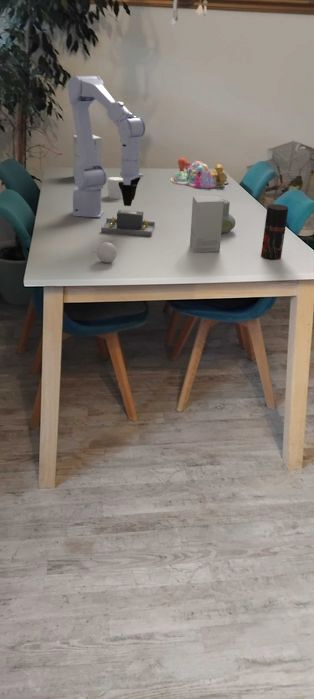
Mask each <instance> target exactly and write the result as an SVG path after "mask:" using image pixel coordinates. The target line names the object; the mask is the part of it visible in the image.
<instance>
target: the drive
mask: <svg viewBox="0 0 314 699" xmlns="http://www.w3.org/2000/svg"><path fill="white" fill-rule="evenodd" d="M116 219H117V228H119V229H132V230H142V225H143V221H144V211H136V210H125V209H123V210H122V209H118V210H117V212H116Z"/></svg>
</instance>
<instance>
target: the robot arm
mask: <svg viewBox="0 0 314 699" xmlns="http://www.w3.org/2000/svg"><path fill="white" fill-rule="evenodd" d="M66 87H67V94H68V98H69V103H70V104H69V105H71V111H72V116H73V124H74V129H75V135H76V136H77V143H78V149H79V155H80V161H79V162H78V163H77V164H76V165H75V167H74V169H75V176H74V184H75V185H76V187H74V188H73V192H72V216H73V217H82V218H83V217H85V218H86V217H87V218H97V219H98V218H101V217H102V215H103V214H104V210H102V189H104V186H105V185H106V183H107V178H108V176H107V172H106V170H105V168H104V163H103V161H102V162H101V161H100V160H98V159H97V158H96V154H95V148H94V141H93V135H94V134H93V130H92V124H91V123H92V122H91V117H90V111H89V110H90V106H91V105H92V104H93V103H94V102H95V101H97V102H98V103H99V104H101V106H103V107H104V108H105V110H107V111H106V115H107V118H109V119H110V120H111V121H112V123H113V124H114V125H116V127H117V132H118V135H119V142H120V143H121V154H120V155H121V158H120V159H121V160H120V162H121V164H120V173H119V175H120V176H119V177H122V178H123V180H124V182H119V187H120V189H121V192H122V197H123V198H122V201H123V206H125V207H131V206H132V203H133V201H134V200H135V197H136V191H137V187H138V185H139V182H140V181H141V178H143V177H144V173H140V163H141V140H142V137H143V136H144V135H145V133H146V124H145V121H144V119H143V118H142V117H140V116H136V115H133V113H132V112H130V110H129V109H128V108H127V107H126V106H125V103H124V102H123V101H115V99H114V98H113V96H111V94H110V93H109V91H108V90H107V89H106V87H105V83H104V80H103V79H102V78H101V77H100V76H99V75H98V74H94V75H72V76H70V78H69V81H68V83H67V86H66ZM86 167H93V168H90V169H85V168H86Z"/></svg>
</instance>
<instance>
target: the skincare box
mask: <svg viewBox="0 0 314 699" xmlns="http://www.w3.org/2000/svg"><path fill="white" fill-rule="evenodd" d="M223 206H224V201H223V200H222V198H221V197H220V196H219V195H202V196H201V195H199V196H195V195H194V196H192V206H191V223H190V238H189V247H190V248H191V250H192V251H193V253H216V252H218V253H220V251H221V240H222V234H221V229H222V217H223Z"/></svg>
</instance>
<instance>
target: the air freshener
mask: <svg viewBox="0 0 314 699" xmlns="http://www.w3.org/2000/svg"><path fill="white" fill-rule="evenodd" d="M221 199H222V198H221ZM222 200H223V201H224V206H223V217H222V229H221V235H223V234H225V233H226V234H227V233H228V232H231V231H232V230H234V228H235V227H236V219H235V218H234V216H232V215H231V214H230V203H231V202H230V200H227V199H224V198H223V199H222Z"/></svg>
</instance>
